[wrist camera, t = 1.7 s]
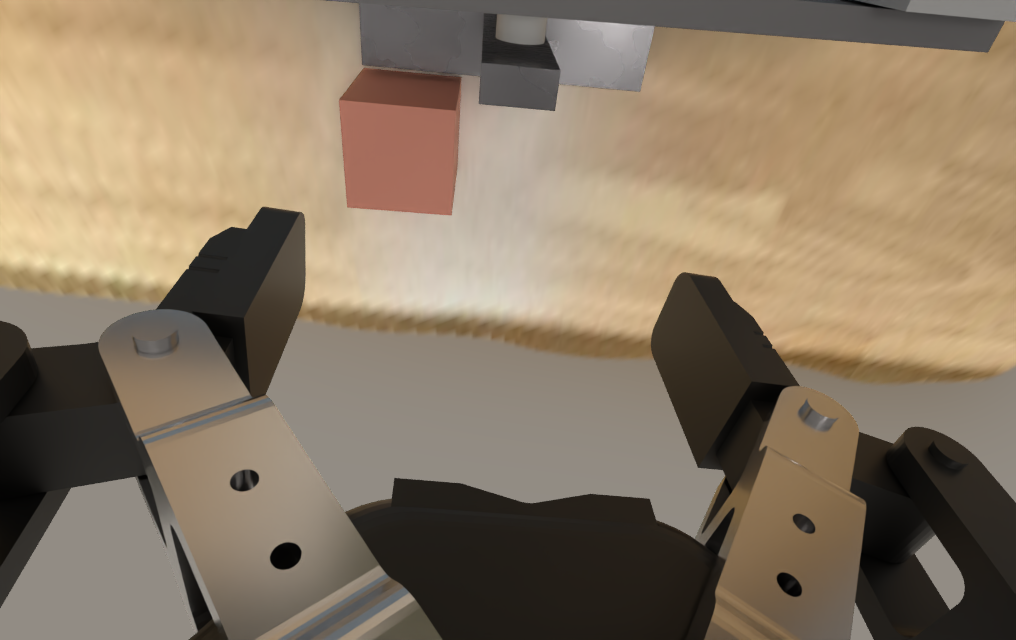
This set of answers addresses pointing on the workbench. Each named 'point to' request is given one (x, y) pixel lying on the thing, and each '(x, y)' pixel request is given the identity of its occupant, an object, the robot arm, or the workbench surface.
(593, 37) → the pivot stand
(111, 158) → the workbench surface
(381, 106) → the block
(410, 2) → the balance beam
